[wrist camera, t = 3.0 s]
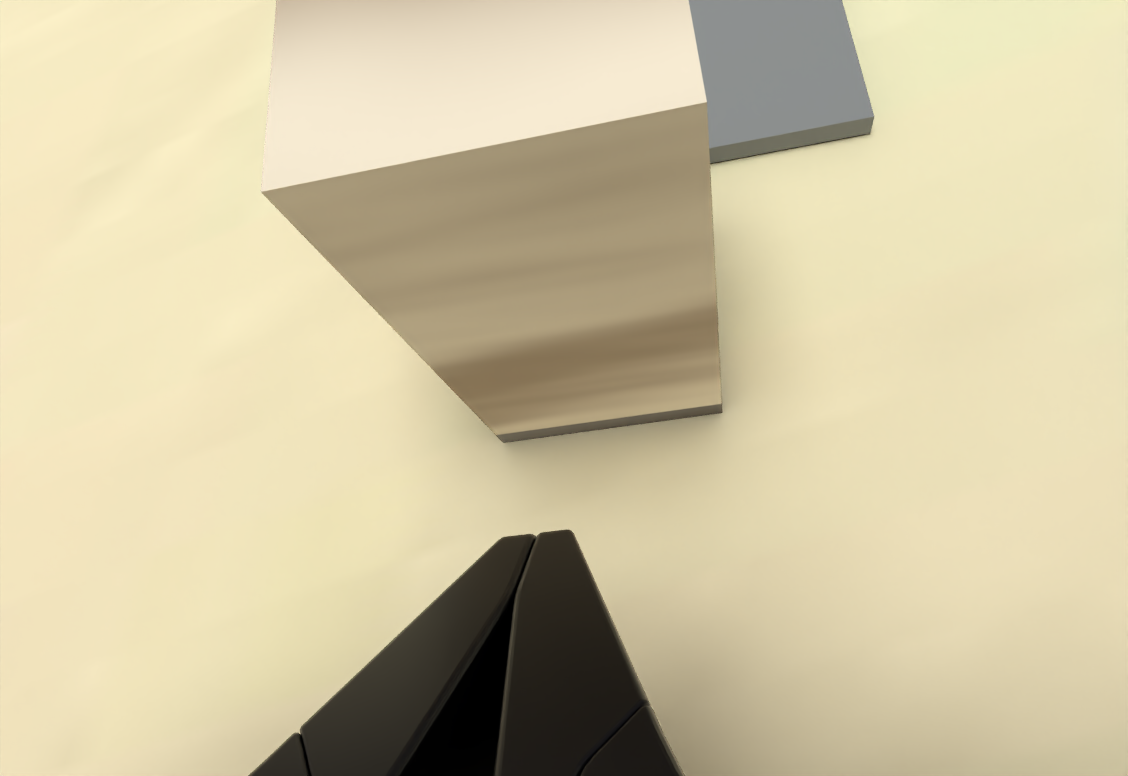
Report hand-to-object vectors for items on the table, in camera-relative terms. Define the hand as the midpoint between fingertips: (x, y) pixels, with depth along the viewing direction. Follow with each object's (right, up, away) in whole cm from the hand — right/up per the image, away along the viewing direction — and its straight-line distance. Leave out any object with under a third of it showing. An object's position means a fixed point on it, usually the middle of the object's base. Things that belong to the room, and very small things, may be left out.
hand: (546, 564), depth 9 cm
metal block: (+1, +3, +9) cm, 10 cm away
